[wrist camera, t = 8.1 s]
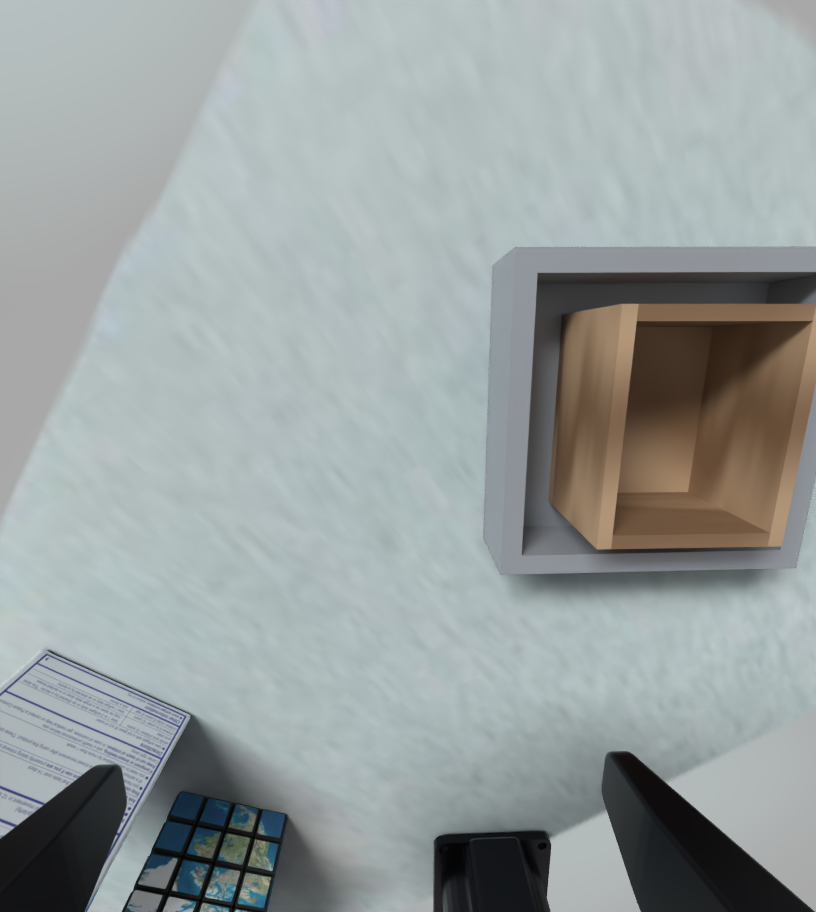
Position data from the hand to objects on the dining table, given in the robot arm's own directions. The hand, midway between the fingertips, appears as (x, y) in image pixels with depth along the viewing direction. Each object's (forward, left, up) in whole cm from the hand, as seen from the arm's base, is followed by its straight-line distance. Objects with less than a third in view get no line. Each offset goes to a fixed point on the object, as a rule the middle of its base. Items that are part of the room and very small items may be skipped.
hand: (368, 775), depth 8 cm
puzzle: (-19, +9, -13) cm, 25 cm away
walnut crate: (+5, -11, -12) cm, 17 cm away
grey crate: (+5, -11, -13) cm, 17 cm away
